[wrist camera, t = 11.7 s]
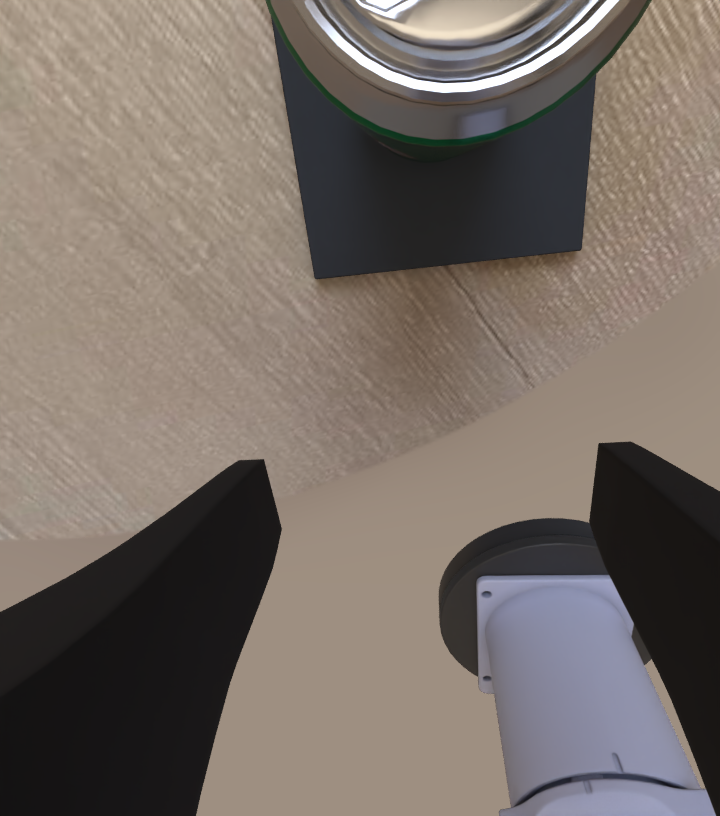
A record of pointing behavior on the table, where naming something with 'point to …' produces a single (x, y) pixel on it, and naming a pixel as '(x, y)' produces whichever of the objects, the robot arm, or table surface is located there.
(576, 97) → the mat
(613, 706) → the robot arm
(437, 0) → the soda can
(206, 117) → the table surface
